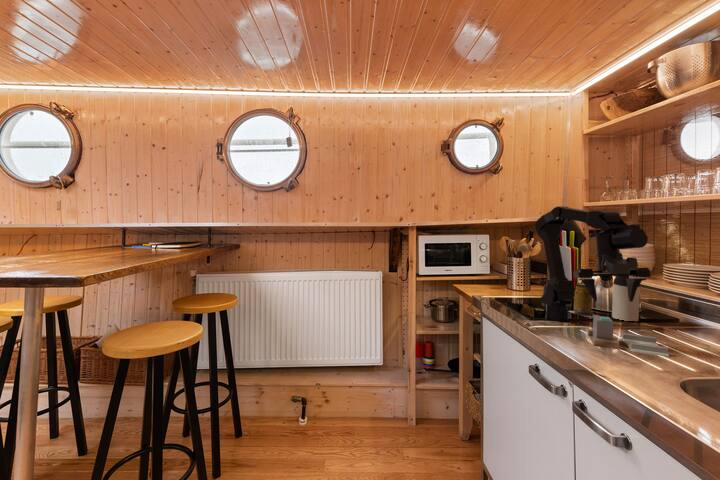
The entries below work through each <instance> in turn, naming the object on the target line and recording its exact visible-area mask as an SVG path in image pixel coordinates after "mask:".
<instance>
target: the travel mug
mask: <svg viewBox="0 0 720 480" xmlns="http://www.w3.org/2000/svg"><path fill="white" fill-rule="evenodd" d="M626 278H629V276H615V278H614V279H613V285H612V286H613V289H612V303H611V304H612V307H611V308H612V309H611V317H612V318H613V319H614V320H617V319H619V320H618V321H621V320H624V321H623V322H627V321H635V322H639V316H640V315H639V314H640V296H641V284H642V282H641V283H640V284H639V286H638V288H637V290H636V293H635V296H634V299H633V301H632V302H630V301H629V297H628V289H627V280H626Z"/></svg>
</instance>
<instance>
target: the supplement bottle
mask: <svg viewBox="0 0 720 480" xmlns="http://www.w3.org/2000/svg"><path fill="white" fill-rule="evenodd" d="M549 279H550V278H546V281H545V283H546V284H544V285H543V287H542V296H543V295H544V294H545V293H546V292H547V284H548V282H549ZM541 305H542V306H543V307H545V308H546V304H545V303H542V302H541Z"/></svg>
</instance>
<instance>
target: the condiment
mask: <svg viewBox="0 0 720 480" xmlns="http://www.w3.org/2000/svg"><path fill="white" fill-rule="evenodd" d="M574 293H575V296H574V297H573V310H568V313H572V314H575V315H577V316H578V315H579V316H582V317H585V318H591V317H592V318H594V316H600V315H599V314H594V313H592V311H593V309H592V308H593V298H592V296H591V294H590V292H589V291H588V289H587V287H586V286H585V284H584V283H583V282H581V283H579V282H578V283H576V284H575V292H574ZM591 313H592V314H593V316H591Z"/></svg>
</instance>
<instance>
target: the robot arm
mask: <svg viewBox="0 0 720 480" xmlns="http://www.w3.org/2000/svg"><path fill="white" fill-rule="evenodd" d="M567 219H568V220H571V221H577V222H581V223H584V224H585V225H586V226H587V227H590V228H591V229H594V230H593V232H592V233H591V234H590V235H589V238H591V239H592V238H595V247H596V254H595V255H596V256H595V257H596V259H597V269H596V270H593V268H575V269H574V270H573V272H572V273H573V274H572V275H573V279H578V281H579V282H581V283H583V284H585V286H586V287H587V289H588V291H589V292H590V294H591V296H592V301H594V302H597V301H598V297H597V289H596V285H595V283H596V279H595V278H593V277H616V276H629V278H626V280H627V289H628V297H629V301H630V302H632V301H633V299H634V296H635V293H636V290H637V288H638V286H639V284H640V283H641V284H642V282H643V281H646V280H647V278H652V277H653V275H652V270H651V269H650V268H649V267H638V265H639V264H638V263H639V262H638V259H637V258H636V257H633V256H631V257H626V259H624V257H623V254H622V252H621V251H620V250H631V249H641V248H644V247H646V245H647V244H648V241H649V239H648V235H647V233H646V232H645V231H644V230H643V229H642V228H641V225H640V224H636V223H633V224H628V223H626V221H624V219H623V218H622V217H621V215H620V213H619V212H618V211H615V210H586V209H585V210H584V209H581V208H580V209H579V208H573V207H569V206H565V205H564V206H562V205H561V206H560V205H559V206H555V207H553V209H551V210H550V211H548V212H546V213H544V214H542V215H541V216H540V217H539V218H538V219H537V220H536V221H535V224H534V226H535V231H536V233H537V236H538V237H539V238H540V239H541V240H542V241H543V245H544V246H543V247H544V252H545V256H546V263H547V269H548V274H549V278H548V279H549V282H548V284H547V283H546V284H547V292H546V293H545V294H544V295H543V294H542V295H541V297H540V299H541V304H542V303H545V304H546V307H545V316H544V317H545V320H546V321H548V322H557V323H565V324H566V323H567V321H568V319H569V318H568V317H569V315H568V314H569V309H568V307H567V305H569V306H571V305H572V302H573V301H574V296H575V293H574V292H575V290H576V288H575V286H574V285H575V284H574V281H573V280H571V279H570V280H569V278H567V277H566V274H565V268H564V263H563V258H562V253H561V248H560V247H561V246H560V243H559V238H560V235H561V234H562V227H563V226H564V225H565V224H566V223H567ZM606 271H607V272H606ZM641 284H640V285H641Z"/></svg>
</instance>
